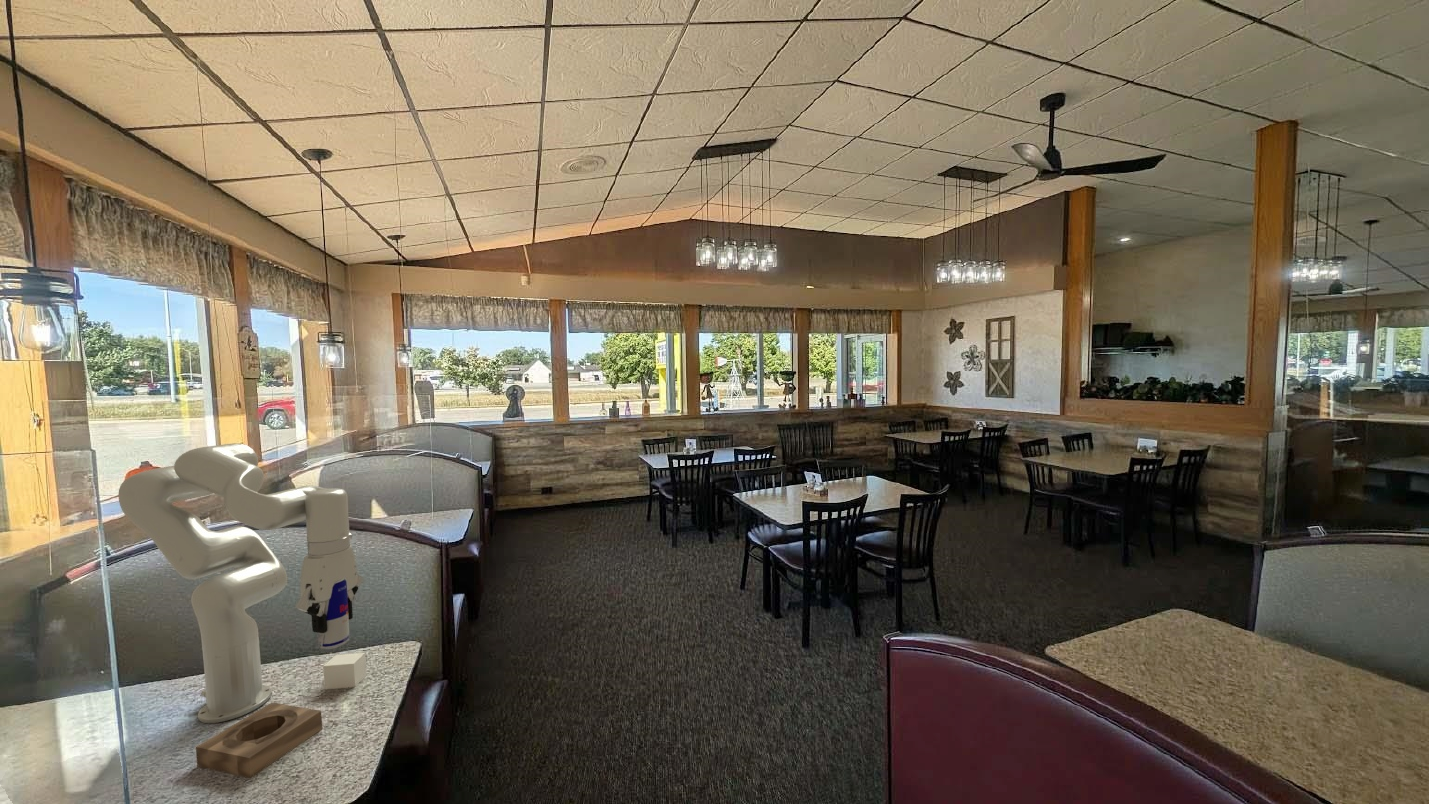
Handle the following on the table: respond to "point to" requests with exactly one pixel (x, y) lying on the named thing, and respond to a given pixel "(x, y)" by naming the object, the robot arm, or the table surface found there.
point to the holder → (258, 739)
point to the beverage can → (336, 618)
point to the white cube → (345, 671)
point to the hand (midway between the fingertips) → (333, 624)
